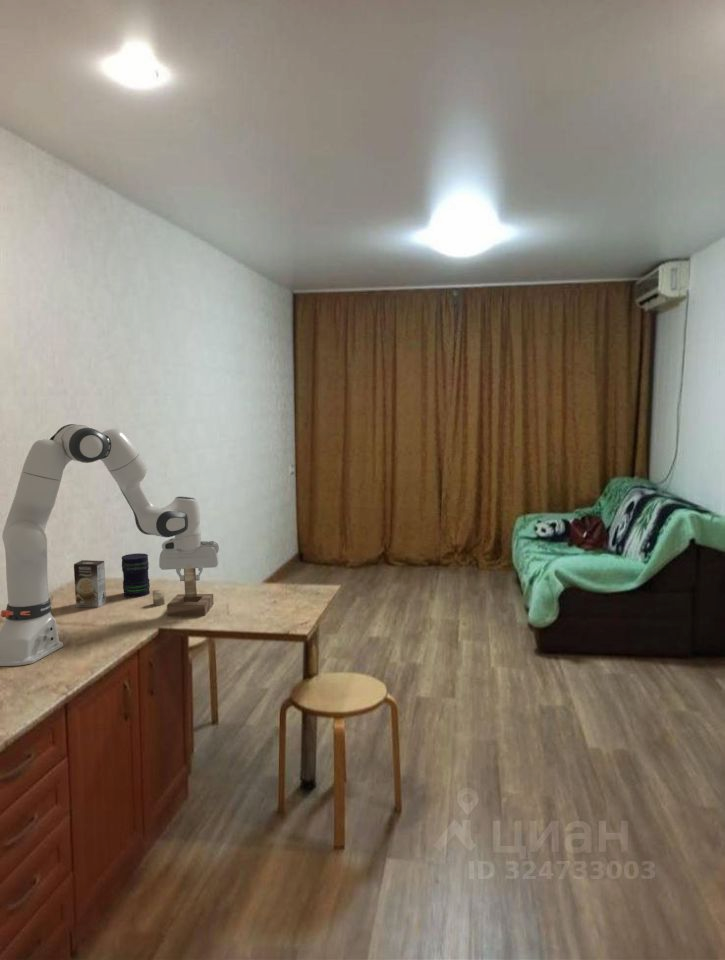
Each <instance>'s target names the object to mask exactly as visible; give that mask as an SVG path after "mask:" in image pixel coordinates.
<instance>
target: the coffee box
mask: <svg viewBox="0 0 725 960" xmlns="http://www.w3.org/2000/svg"><path fill="white" fill-rule="evenodd" d="M105 569H106V568H105V560H91V559H90V560H88V559H87V560H86V559H85V560H84V559H81V560H79V561H77V562H75V563H73V574H74V575H73V576H74V593H75V595H74V596H75V607H76V608H100V607H102V606H103V605H105V604H106V603H107V592H106V572H105V571H106V570H105Z"/></svg>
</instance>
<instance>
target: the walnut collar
mask: <svg viewBox="0 0 725 960" xmlns="http://www.w3.org/2000/svg"><path fill="white" fill-rule="evenodd" d="M213 604H215V602H214V593H197V596H196V597H191V598H188V597H185V593H183V594H181V593H177V594H176V595H175V596H174V597H173V598H172V599H171V600H170V601H169V602H168V603H167V604H166V611H167V612H166V613H167V617H192V616H193V617H200V616H201V615H202V616H206V615H207V614H208V612H209V611H210V610H211V609H212V607H213V606H214V605H213ZM212 605H213V606H212ZM210 608H211V609H210ZM209 609H210V610H209ZM206 613H207V614H206ZM202 616H201V617H202Z"/></svg>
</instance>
